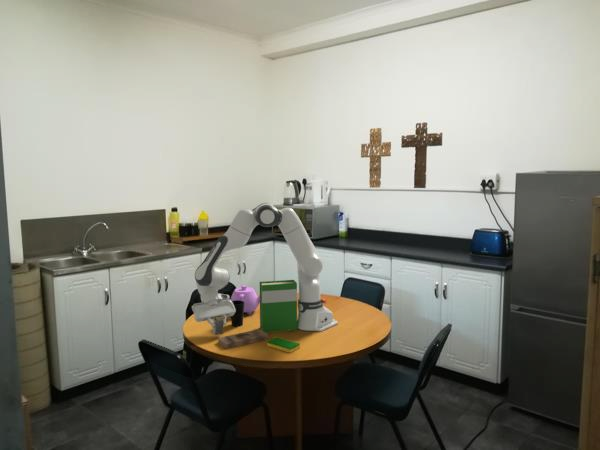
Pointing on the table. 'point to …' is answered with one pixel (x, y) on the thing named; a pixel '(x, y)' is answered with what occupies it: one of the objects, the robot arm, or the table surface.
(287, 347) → the dish sponge
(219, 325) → the lever cap
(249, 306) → the teapot
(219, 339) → the brown flat board
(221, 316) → the robot arm
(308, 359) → the table surface
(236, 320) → the cup
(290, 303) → the hardback book
